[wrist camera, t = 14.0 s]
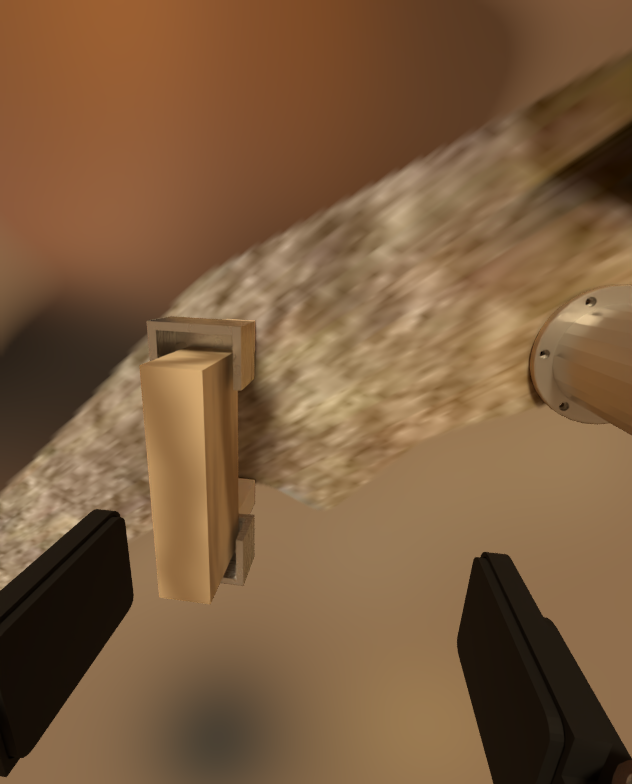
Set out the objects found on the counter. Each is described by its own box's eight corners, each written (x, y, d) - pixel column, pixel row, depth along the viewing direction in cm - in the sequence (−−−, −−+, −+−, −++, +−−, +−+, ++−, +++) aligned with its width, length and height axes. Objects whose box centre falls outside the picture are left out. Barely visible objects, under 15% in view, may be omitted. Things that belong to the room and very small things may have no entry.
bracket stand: (274, 313, 36) (240, 326, 26) (271, 510, 43) (243, 585, 32) (206, 309, 37) (146, 320, 26) (213, 504, 43) (167, 576, 33)
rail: (237, 350, 29) (202, 370, 23) (238, 541, 35) (210, 604, 28) (188, 346, 30) (139, 365, 23) (197, 536, 35) (159, 597, 28)
